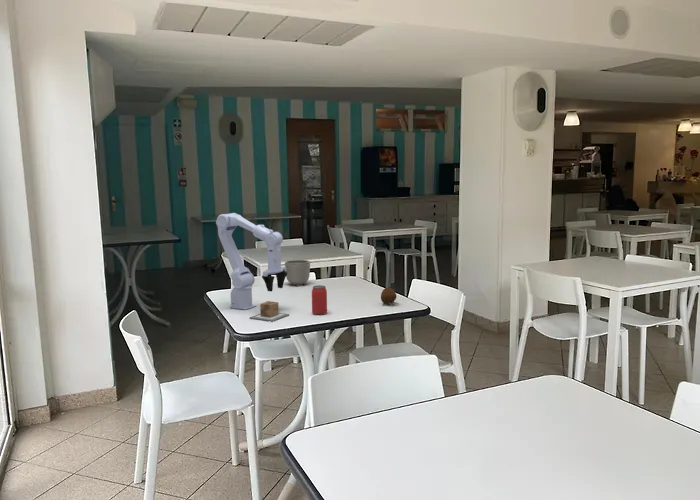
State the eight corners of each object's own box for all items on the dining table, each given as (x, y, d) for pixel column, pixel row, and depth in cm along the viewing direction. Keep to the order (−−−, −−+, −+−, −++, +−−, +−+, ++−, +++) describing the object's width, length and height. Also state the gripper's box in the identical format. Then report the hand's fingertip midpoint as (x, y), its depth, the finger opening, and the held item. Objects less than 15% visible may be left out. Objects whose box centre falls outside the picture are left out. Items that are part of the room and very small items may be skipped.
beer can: (325, 315, 238) (324, 288, 236) (310, 314, 239) (309, 287, 238) (328, 311, 244) (328, 285, 243) (314, 311, 246) (313, 284, 244)
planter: (309, 287, 298) (308, 263, 296) (283, 287, 298) (283, 263, 297) (311, 282, 312) (311, 259, 310) (287, 282, 312) (286, 259, 310)
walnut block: (260, 316, 235) (260, 303, 234) (268, 313, 240) (268, 301, 239) (270, 317, 232) (270, 305, 232) (278, 314, 237) (278, 302, 236)
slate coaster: (249, 318, 234) (249, 317, 234) (266, 312, 244) (266, 310, 244) (272, 322, 228) (272, 320, 228) (289, 315, 239) (289, 313, 238)
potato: (393, 301, 263) (393, 285, 262) (398, 306, 253) (398, 289, 252) (378, 302, 262) (378, 285, 261) (382, 306, 252) (382, 290, 251)
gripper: (271, 262, 236) (272, 293, 238) (291, 257, 248) (291, 287, 250) (258, 261, 239) (259, 291, 241) (278, 256, 252) (279, 285, 253)
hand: (275, 289), depth 246 cm, fingers open, 7 cm apart
